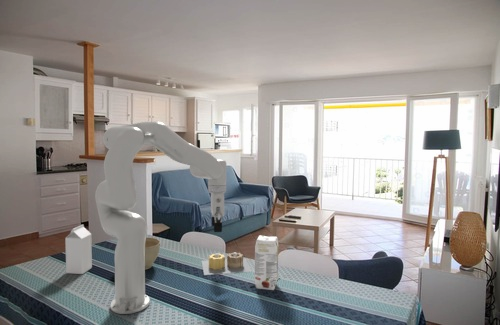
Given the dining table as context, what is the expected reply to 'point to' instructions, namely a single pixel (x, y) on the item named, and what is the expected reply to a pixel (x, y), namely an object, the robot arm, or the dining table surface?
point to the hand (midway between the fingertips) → (216, 228)
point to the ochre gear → (216, 262)
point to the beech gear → (235, 260)
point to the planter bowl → (151, 251)
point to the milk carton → (78, 251)
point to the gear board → (226, 269)
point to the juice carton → (266, 262)
